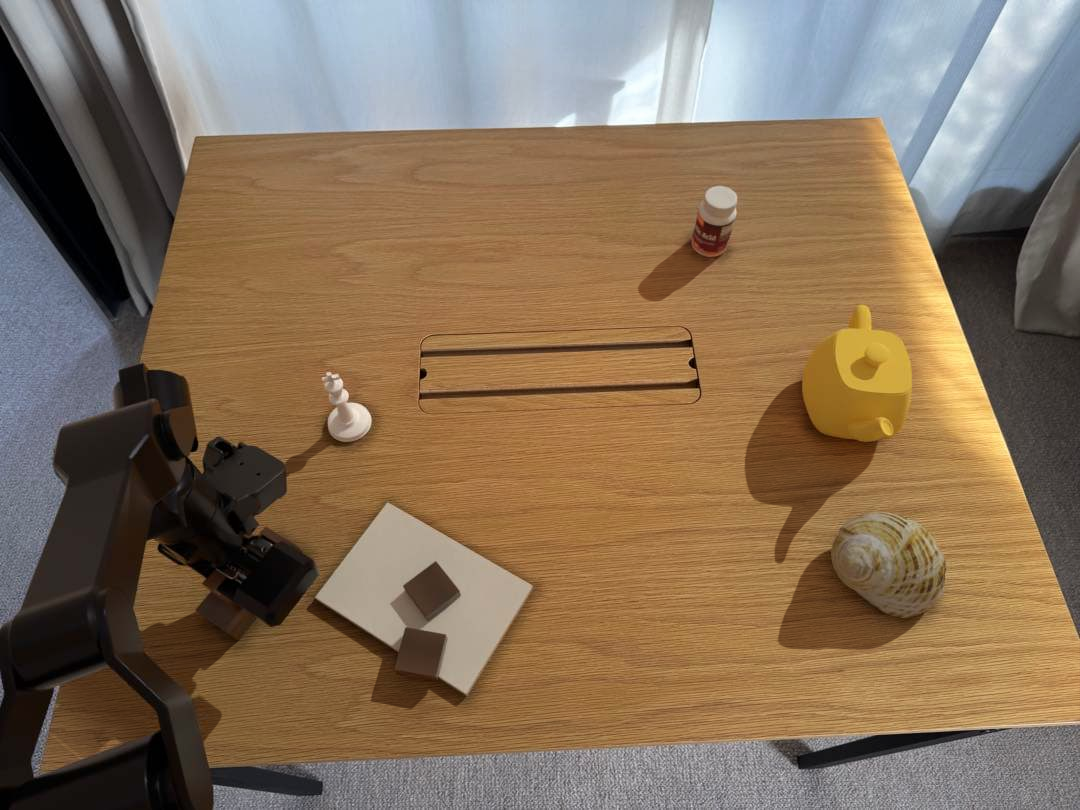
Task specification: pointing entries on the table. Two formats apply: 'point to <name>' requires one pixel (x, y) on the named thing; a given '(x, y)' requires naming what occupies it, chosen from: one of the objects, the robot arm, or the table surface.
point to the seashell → (890, 563)
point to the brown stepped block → (223, 608)
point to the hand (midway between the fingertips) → (246, 575)
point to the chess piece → (345, 412)
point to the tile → (386, 609)
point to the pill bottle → (715, 221)
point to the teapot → (858, 382)
